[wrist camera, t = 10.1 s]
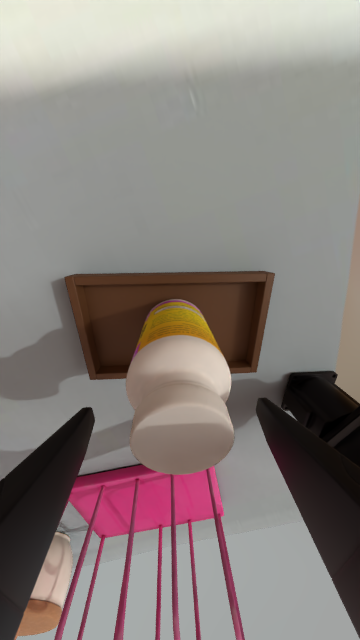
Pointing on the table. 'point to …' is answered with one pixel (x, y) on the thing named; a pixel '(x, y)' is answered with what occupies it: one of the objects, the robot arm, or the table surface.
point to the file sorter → (148, 528)
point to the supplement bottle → (179, 392)
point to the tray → (153, 288)
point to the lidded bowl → (49, 589)
